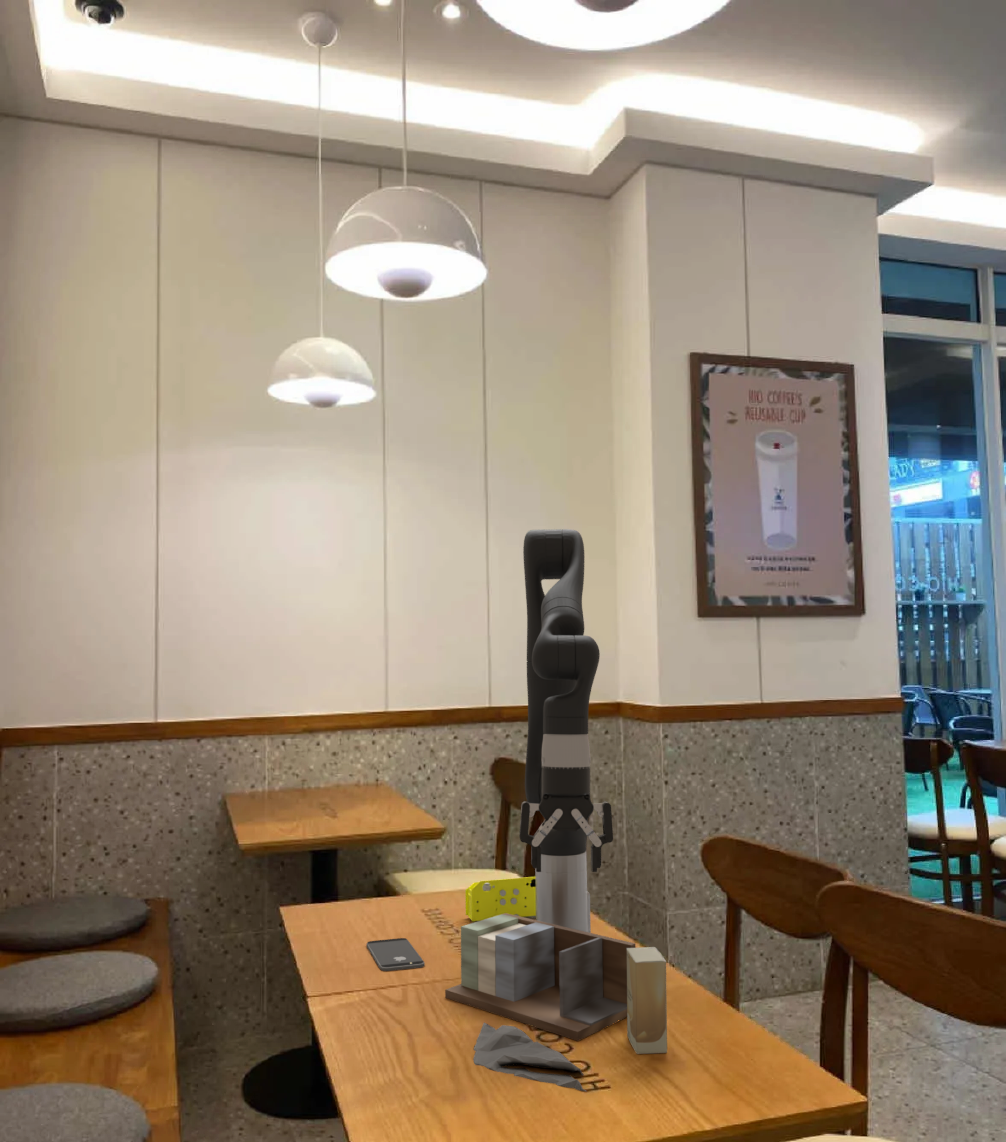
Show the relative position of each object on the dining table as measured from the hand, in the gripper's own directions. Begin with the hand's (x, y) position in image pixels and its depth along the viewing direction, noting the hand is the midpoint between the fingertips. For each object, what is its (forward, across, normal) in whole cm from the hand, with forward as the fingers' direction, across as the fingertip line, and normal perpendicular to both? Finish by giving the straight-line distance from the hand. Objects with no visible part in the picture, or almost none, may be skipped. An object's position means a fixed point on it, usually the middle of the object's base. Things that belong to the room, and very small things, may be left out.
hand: (566, 871), depth 155 cm
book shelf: (+20, +4, -1) cm, 20 cm away
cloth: (+22, +7, +18) cm, 29 cm away
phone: (+19, +28, -26) cm, 43 cm away
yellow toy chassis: (+17, +7, -49) cm, 53 cm away
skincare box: (+21, -10, +15) cm, 28 cm away
